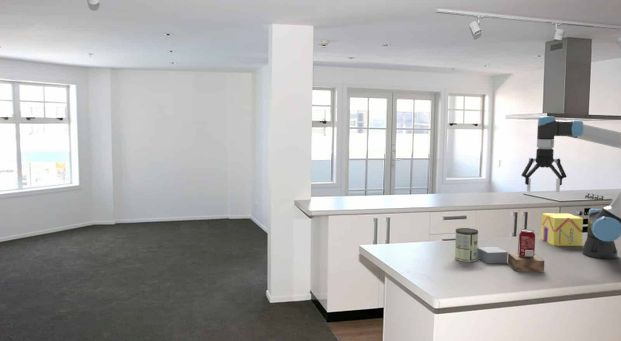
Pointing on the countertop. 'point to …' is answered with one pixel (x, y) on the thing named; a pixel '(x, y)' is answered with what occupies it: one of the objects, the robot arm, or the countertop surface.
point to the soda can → (526, 243)
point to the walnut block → (526, 263)
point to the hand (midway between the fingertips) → (542, 191)
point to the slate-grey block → (492, 254)
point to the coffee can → (466, 244)
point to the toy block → (561, 229)
